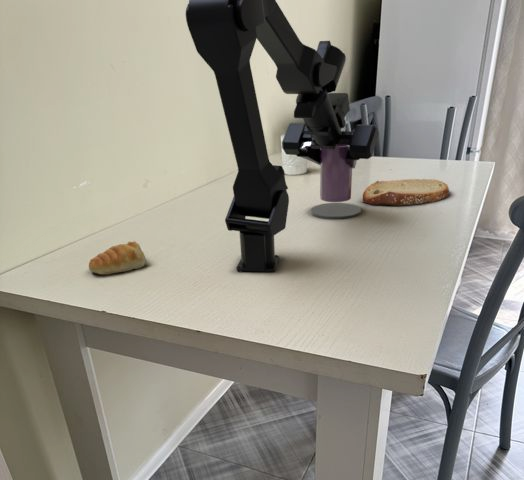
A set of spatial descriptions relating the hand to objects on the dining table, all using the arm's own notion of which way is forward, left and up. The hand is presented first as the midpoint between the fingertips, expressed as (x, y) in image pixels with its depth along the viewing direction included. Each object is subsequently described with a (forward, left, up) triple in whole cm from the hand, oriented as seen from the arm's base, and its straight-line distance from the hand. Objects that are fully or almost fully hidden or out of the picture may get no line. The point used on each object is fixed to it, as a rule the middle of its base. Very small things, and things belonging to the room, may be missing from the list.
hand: (339, 165), depth 108 cm
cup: (-1, 0, -7) cm, 7 cm away
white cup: (+39, +13, -10) cm, 42 cm away
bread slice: (+11, -16, -10) cm, 21 cm away
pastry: (-35, +36, -10) cm, 52 cm away
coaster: (-1, 0, -10) cm, 10 cm away
